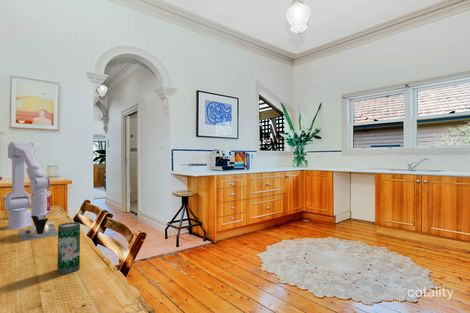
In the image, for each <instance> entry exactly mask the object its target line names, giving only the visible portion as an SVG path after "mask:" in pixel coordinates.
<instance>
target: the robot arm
mask: <svg viewBox="0 0 470 313" xmlns="http://www.w3.org/2000/svg"><path fill="white" fill-rule="evenodd" d="M36 151H37V150H36V145H35V143H34V142H16V141H15V142H14V141H10V142H9V144H8V146H7V158H8V159H11V182H12V183H11V191H10V192H9V193H8V194H6V195H5V197H4V201H3V206H4V211H6V212H8V214H7V215H8V223H7V224H8V226H7V227H3V229H4V230H21V229H25V228H27V227H29V226H30V227H31V226H36V231H37V234H43V232H44V228H45V224H46V222H48V221H49V218H48V217H46V216H47V213H48V214H50V213H51V210H50V211H47V190H49V188H50V187H51V186H50V185H51V183H50V182H51V181H50V177H48V176H47V175H45V174H44V171H43V169H42V168H41V166H40V165H39V164H37V161H36V158H35V153H36ZM25 164H26V170H25ZM25 171H26V173H27V176H28V178H29V190H30V193H28V192H27V191H25ZM30 195H31V196H30ZM30 207H31V209H30ZM32 222H33V223H32Z"/></svg>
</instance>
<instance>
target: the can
mask: <svg viewBox="0 0 470 313" xmlns="http://www.w3.org/2000/svg"><path fill="white" fill-rule="evenodd" d="M57 233H58V236H57V273H58V274H59V275H68V274H72V273H75V272H78V270H81V269H80V267H81V264H80V262H81V259H80V258H81V223H80V222H74V221H73V222H65V223H60V224H58V225H57ZM61 273H62V274H61Z"/></svg>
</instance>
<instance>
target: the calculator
mask: <svg viewBox="0 0 470 313" xmlns="http://www.w3.org/2000/svg"><path fill="white" fill-rule="evenodd" d="M47 211H50V212H51V190H50V189H47ZM47 214H49V213H47ZM47 214H46V215H47Z"/></svg>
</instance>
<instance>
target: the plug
mask: <svg viewBox="0 0 470 313" xmlns="http://www.w3.org/2000/svg"><path fill="white" fill-rule="evenodd" d="M52 229H53V227H52V228H48V225H47V224H45V228H44V232H43V234H37V231H36V226H34V225H30V227H29V229H26V230H27V231H25V234H28V233H30V236H40V235H46V234H48V230H52Z"/></svg>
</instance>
